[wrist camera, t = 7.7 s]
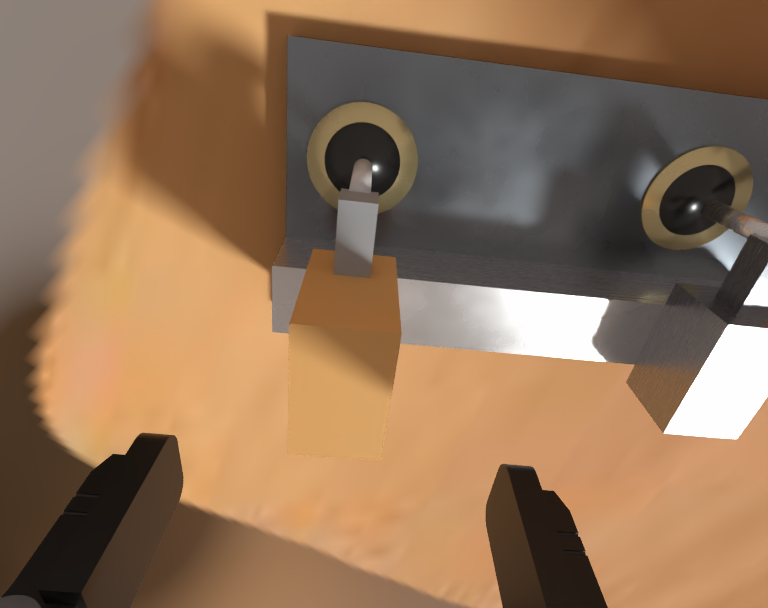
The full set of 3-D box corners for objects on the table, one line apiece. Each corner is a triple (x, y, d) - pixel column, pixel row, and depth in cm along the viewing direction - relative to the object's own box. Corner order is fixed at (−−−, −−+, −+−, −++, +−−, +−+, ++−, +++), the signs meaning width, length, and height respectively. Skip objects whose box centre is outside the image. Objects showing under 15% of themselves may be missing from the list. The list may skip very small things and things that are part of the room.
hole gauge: (843, 109, 18) (1080, 143, 12) (703, 350, 24) (812, 454, 18) (292, 36, 17) (242, 31, 10) (289, 312, 22) (256, 411, 16)
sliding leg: (403, 163, 17) (417, 234, 11) (380, 334, 21) (380, 461, 14) (324, 153, 17) (290, 220, 10) (315, 328, 21) (287, 454, 14)
